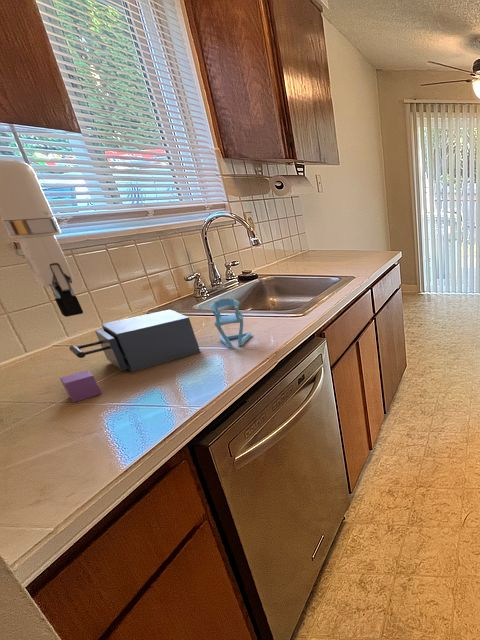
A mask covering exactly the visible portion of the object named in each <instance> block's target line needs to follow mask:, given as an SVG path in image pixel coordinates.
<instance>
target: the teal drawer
mask: <svg viewBox="0 0 480 640" xmlns="http://www.w3.org/2000/svg"><path fill="white" fill-rule="evenodd" d="M93 331H94V333H95V335H96V338H97V341H94V342H90V343H85V344H81V345H70V346H69V347H68V348H69V351H70V352H71V353H72V354H74V355H75V356H76V357H77V358H79V359H84V358H86V356H87V355H91V354H95V353H98V352H103V353H104V355H105V358H106V360H108V361H109V362H110V363H111V364H113V365H114V366H115V367H117V368H118V369H119V370H120V371H125V370H129V369H128V368H127V366H126V363H125V361H124V359H126V357H125V354H124V352H123V349H122V347H121V345H120V342H119V340H118V337H117V336H115V335H114V334H112V333H111V332H110V333H111V335H112V336H111V335H109V334H108V333H106V332H105V331H104V330H103V328H102V329H101V328H97V329H94V330H93ZM97 345H98V346H99V345H100V346H101V347H99V348H95V349H90V350H86V351H83V350H82V349H85V348H89V347H94V346H97ZM123 358H124V359H123ZM126 360H127V359H126Z"/></svg>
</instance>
